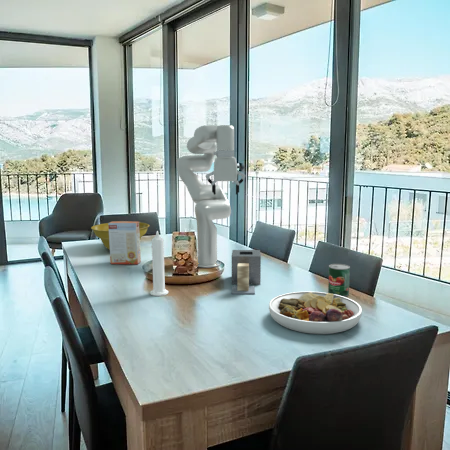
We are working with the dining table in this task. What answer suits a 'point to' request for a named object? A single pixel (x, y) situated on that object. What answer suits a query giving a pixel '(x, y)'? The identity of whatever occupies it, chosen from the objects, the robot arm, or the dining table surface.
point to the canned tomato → (339, 279)
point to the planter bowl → (103, 232)
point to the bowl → (315, 312)
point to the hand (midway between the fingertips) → (225, 194)
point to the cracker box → (124, 242)
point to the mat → (251, 291)
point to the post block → (254, 264)
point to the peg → (243, 277)
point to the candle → (158, 266)
